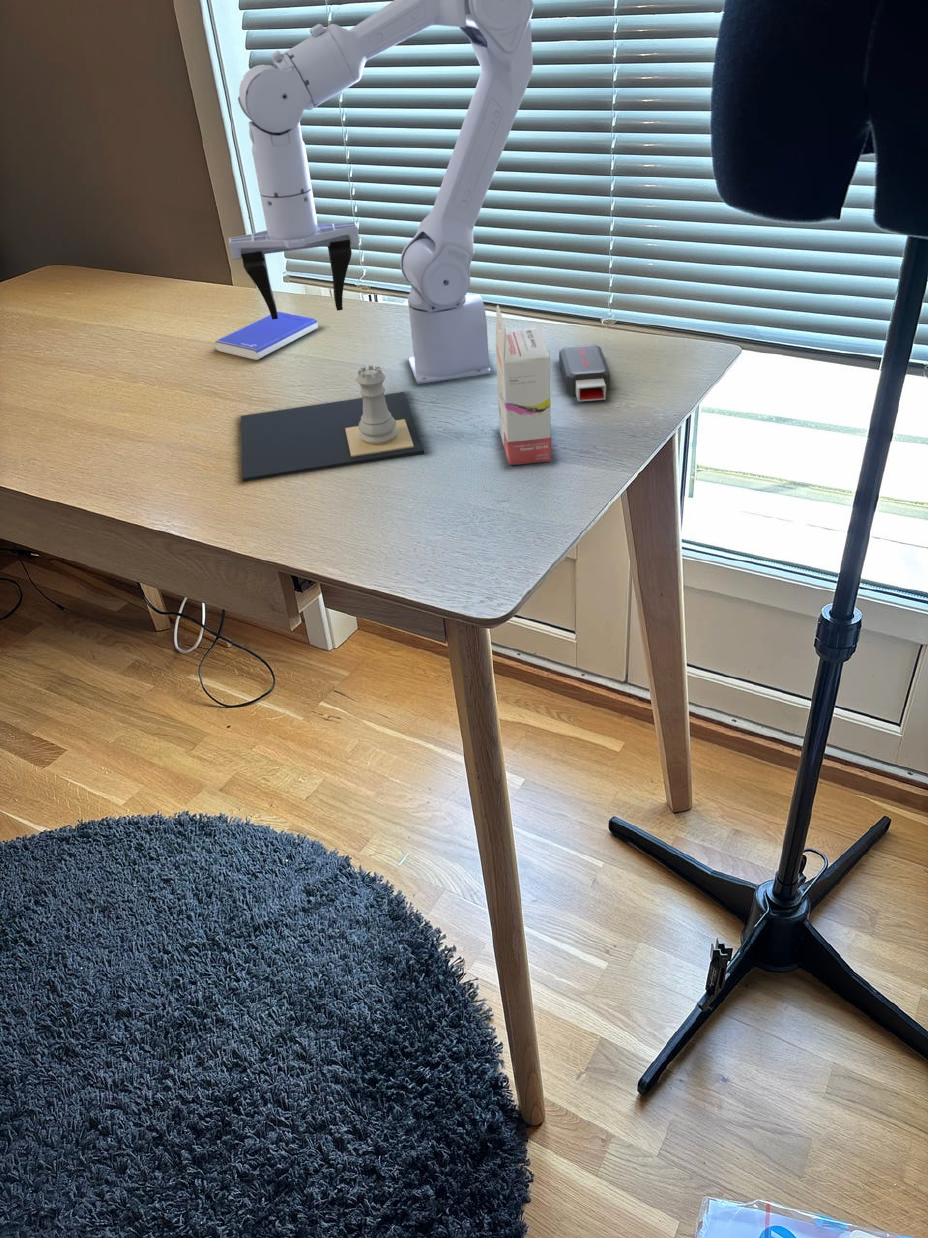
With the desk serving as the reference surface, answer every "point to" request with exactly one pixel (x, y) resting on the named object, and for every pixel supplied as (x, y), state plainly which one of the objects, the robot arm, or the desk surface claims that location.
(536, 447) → the ink cartridge box
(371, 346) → the desk surface
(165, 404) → the desk surface
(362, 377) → the rook chess piece
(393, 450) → the desk pad
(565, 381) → the usb drive
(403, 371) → the desk surface
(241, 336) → the hard drive
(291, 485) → the desk surface
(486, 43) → the robot arm
